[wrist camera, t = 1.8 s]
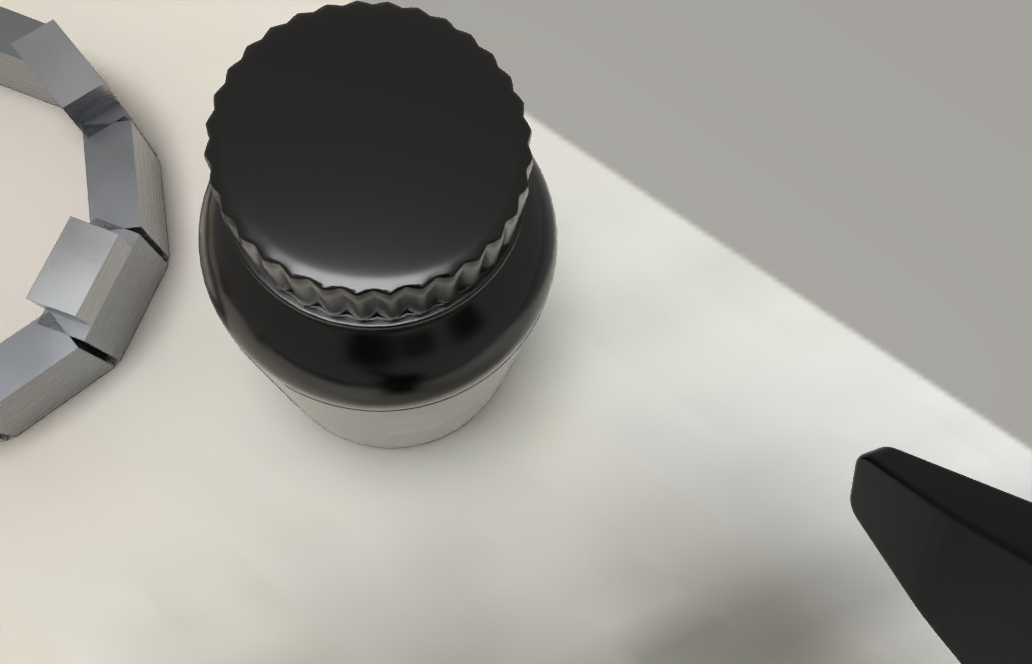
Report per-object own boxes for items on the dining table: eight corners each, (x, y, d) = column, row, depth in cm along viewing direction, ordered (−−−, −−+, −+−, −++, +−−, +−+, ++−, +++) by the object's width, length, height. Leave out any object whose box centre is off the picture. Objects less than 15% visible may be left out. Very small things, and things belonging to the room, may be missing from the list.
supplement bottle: (519, 240, 24) (626, -16, 12) (496, 463, 22) (592, 406, 11) (293, 207, 23) (182, -99, 12) (251, 435, 22) (74, 342, 10)
